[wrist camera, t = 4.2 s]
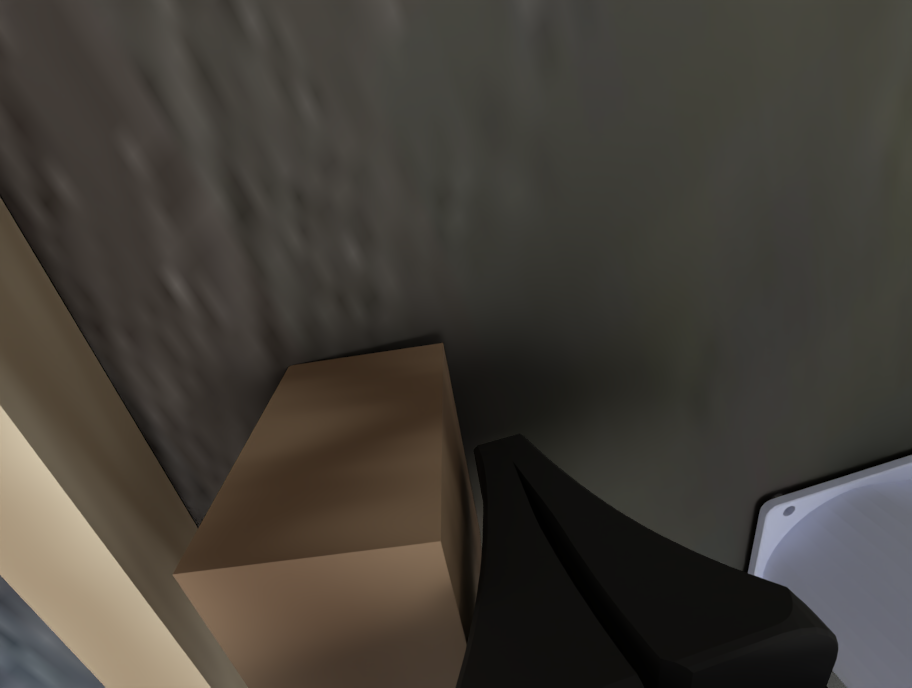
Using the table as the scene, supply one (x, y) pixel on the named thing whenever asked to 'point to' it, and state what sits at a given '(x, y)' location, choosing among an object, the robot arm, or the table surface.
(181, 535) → the maple board
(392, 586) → the walnut block
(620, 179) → the table surface
